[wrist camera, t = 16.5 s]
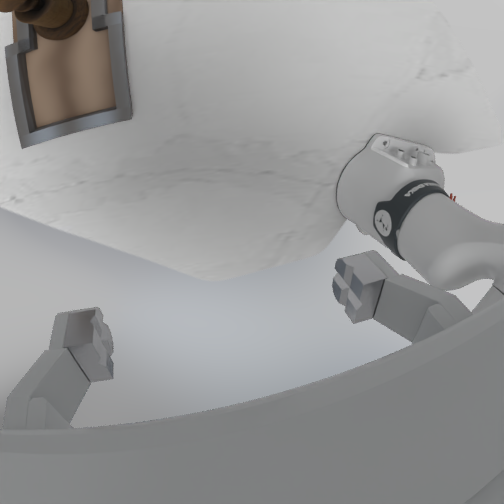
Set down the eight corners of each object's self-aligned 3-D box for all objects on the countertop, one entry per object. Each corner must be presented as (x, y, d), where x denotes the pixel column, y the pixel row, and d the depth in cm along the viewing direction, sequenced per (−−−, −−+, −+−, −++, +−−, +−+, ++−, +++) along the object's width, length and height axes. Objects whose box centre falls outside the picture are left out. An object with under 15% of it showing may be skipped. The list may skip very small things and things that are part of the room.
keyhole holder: (121, -41, 23) (119, -49, 20) (132, 114, 35) (131, 119, 32) (13, -8, 19) (3, -12, 17) (30, 141, 32) (21, 148, 29)
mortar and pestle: (28, 25, 23) (-47, 15, 9) (62, -18, 21) (9, -61, 7) (64, 49, 27) (5, 48, 13) (100, 6, 25) (66, -31, 11)
